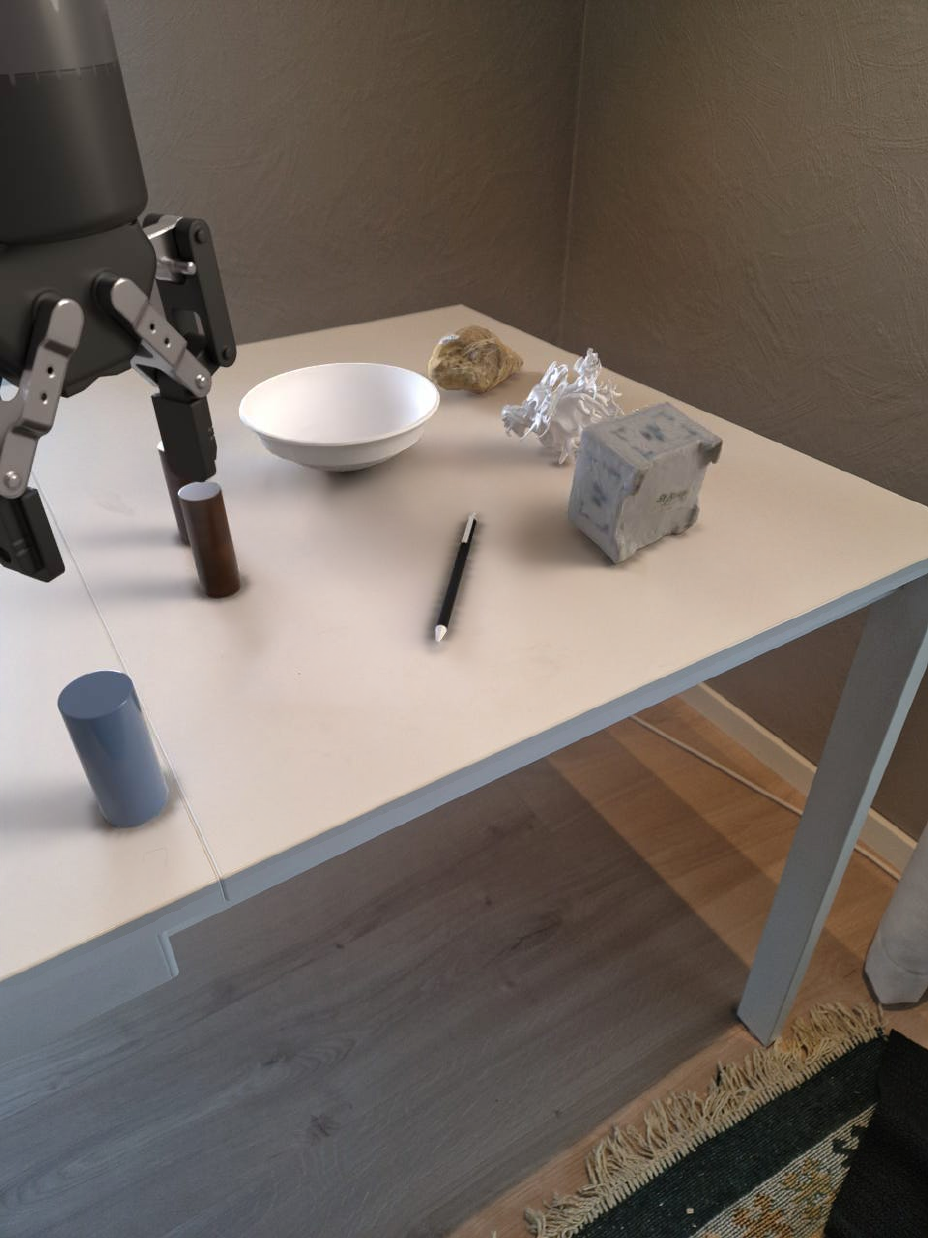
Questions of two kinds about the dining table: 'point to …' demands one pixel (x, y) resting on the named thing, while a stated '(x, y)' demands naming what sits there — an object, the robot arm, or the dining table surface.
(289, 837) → the dining table surface
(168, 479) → the pegs
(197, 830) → the dining table surface
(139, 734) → the cylinder
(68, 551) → the dining table surface
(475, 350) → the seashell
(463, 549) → the pen
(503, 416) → the figurine
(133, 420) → the dining table surface
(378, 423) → the bowl
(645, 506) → the incense holder
